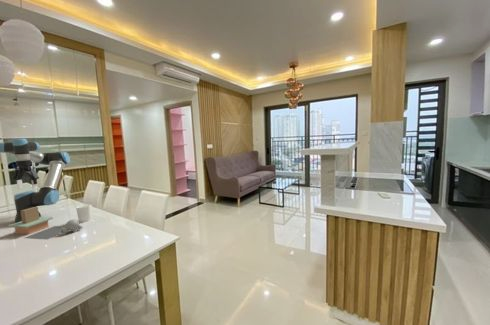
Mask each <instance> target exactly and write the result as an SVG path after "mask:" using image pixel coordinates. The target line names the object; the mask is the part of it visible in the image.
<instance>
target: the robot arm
mask: <svg viewBox="0 0 490 325" xmlns="http://www.w3.org/2000/svg"><path fill="white" fill-rule="evenodd" d="M40 147H41V146H40V144H39V143H38V142H37V141H33V140H31V141H29V140H27V139H26V138H14V139H12V141H7V142H6V141H5V142H0V153H4V154H6V153H9V154H12V155H14V158H15V164H16V166H15V167H14V174H13V180H15V181H16V185H17V190H20V189H24V186H23V179H22V177H23V175H24V174H26V175H27V176H28V177H29V178H30V181H31V185H32V190H28V191H23V192H19V193H17V194H15V195H14V197H13V199H14V200H13V201H14V205H15V211H16V214H15V217H14V223H18V222H21V221H22V217H21V212H20V211H21V210H25V209H29V208H32V207H43V206H52V205H56V203H58V202H59V199H60V191H58V189H57V187H58V184H59V181H60V177H61V174H62V171H63V169H65V168H66V166H67V165H69V164H70V163H71V158H70V154H69V153H68V152H66V151H56V152H39V149H40ZM31 161H32V162H33V163H34V164H35V163H36V164H39V165H42V166H43V165H44V166H49V169H48V172H47V175H46V177H45V180H44V183H43V186H41V187H40V188H39V187H38V179H40V177H39V175H38V172H37V171H36V170H35V167H34V166H31V165H32V162H31ZM38 188H39V190H38V191H36V192H35V189H38ZM38 212H39V217H42V214H41V212H40V211H39V210H38Z"/></svg>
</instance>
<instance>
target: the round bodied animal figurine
mask: <svg viewBox="0 0 490 325" xmlns="http://www.w3.org/2000/svg"><path fill="white" fill-rule="evenodd" d="M81 229H83V226H82V225H81V224H80V222H79V219H70V220H68V221H67V222H66V223H65V227H63V228H61V232H60V233H59V235H60V236H65V235H67V234H68V233H69V232H70V231H71V232H73V233H77V232H79V230H81Z"/></svg>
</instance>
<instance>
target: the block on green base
mask: <svg viewBox="0 0 490 325" xmlns="http://www.w3.org/2000/svg"><path fill="white" fill-rule="evenodd" d="M38 211H39V206H37V207H32V208H29V209H25V210H21V211H20V212H21V217H22V221H21V222H18V223H15V222H14V223H12V224H11V223H10V224H8V225H7V228H15V227H21V228H28V227H30V226H33V225H36V224H39V223H42V222H45V221H48V222H49V221H50V220H53V219H54V218H53V217H52V216H41V217H39V213H40V211H39V212H38Z"/></svg>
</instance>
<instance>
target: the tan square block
mask: <svg viewBox="0 0 490 325" xmlns="http://www.w3.org/2000/svg"><path fill="white" fill-rule="evenodd" d="M48 228H49V220H48V221H45V222H42V223H39V224H36V225H33V226H30V227H28V228H21V227H14V231H15V235H18V234H21V235H22V234H23V235H32V234H33V233H34V234H35V233H37V232H40V231H43V230H45V229H48Z"/></svg>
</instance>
